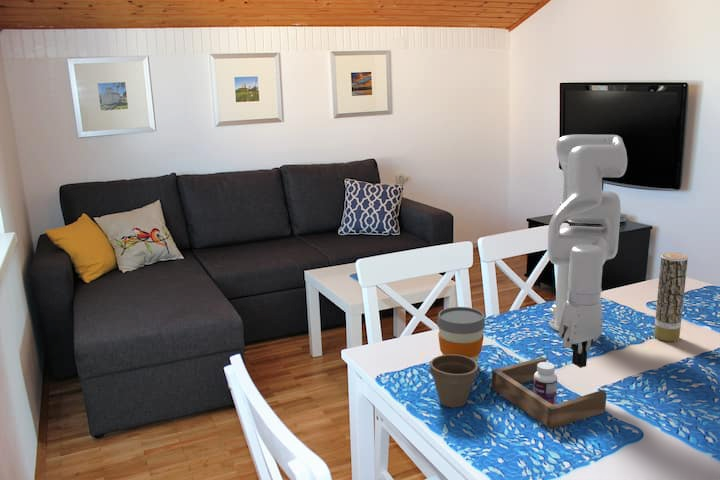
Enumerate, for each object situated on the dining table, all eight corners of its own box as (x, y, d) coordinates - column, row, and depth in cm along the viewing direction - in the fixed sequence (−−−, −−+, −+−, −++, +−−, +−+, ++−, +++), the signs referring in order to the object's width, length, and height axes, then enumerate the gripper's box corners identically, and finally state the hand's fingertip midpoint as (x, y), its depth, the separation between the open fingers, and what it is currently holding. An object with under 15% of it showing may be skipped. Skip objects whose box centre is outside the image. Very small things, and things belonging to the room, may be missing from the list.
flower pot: (481, 393, 164) (481, 356, 161) (473, 416, 154) (474, 377, 151) (435, 387, 168) (435, 351, 165) (425, 409, 157) (424, 370, 155)
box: (491, 388, 166) (492, 370, 165) (541, 374, 173) (542, 356, 172) (551, 429, 147) (552, 409, 146) (605, 412, 154) (606, 392, 152)
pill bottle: (528, 399, 160) (529, 362, 158) (546, 395, 162) (548, 358, 160) (542, 409, 156) (543, 372, 153) (560, 405, 157) (562, 367, 155)
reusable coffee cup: (427, 368, 178) (427, 316, 175) (454, 352, 187) (455, 303, 183) (466, 382, 170) (467, 327, 166) (493, 365, 179) (494, 313, 175)
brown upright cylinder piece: (681, 343, 189) (690, 259, 183) (656, 341, 190) (664, 259, 184) (675, 333, 196) (684, 252, 189) (651, 332, 197) (658, 252, 190)
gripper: (595, 285, 164) (590, 352, 170) (548, 297, 158) (545, 365, 164) (619, 295, 158) (613, 364, 163) (570, 307, 152) (566, 378, 157)
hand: (579, 364), depth 163 cm, fingers closed
